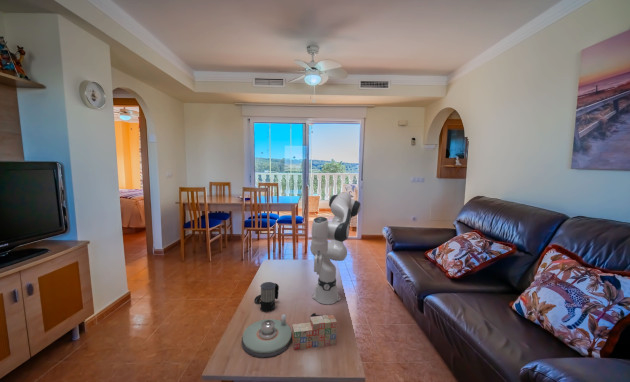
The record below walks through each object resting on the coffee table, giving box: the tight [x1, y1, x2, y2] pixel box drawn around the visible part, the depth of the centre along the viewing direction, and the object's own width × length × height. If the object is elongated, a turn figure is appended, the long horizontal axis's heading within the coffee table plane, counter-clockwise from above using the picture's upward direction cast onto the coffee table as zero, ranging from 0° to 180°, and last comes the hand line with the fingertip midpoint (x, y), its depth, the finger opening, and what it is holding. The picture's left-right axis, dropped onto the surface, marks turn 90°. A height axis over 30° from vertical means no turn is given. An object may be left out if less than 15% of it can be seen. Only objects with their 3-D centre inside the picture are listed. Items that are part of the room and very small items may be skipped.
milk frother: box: [253, 281, 280, 313], centre depth 159 cm, size 14×16×15 cm
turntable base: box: [241, 331, 292, 359], centre depth 129 cm, size 25×25×2 cm
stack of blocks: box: [291, 314, 338, 350], centre depth 127 cm, size 21×6×12 cm, turn 103°
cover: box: [259, 320, 277, 340], centre depth 128 cm, size 9×9×6 cm
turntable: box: [242, 313, 292, 353], centre depth 128 cm, size 24×24×6 cm
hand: (318, 273), depth 136 cm, fingers closed
